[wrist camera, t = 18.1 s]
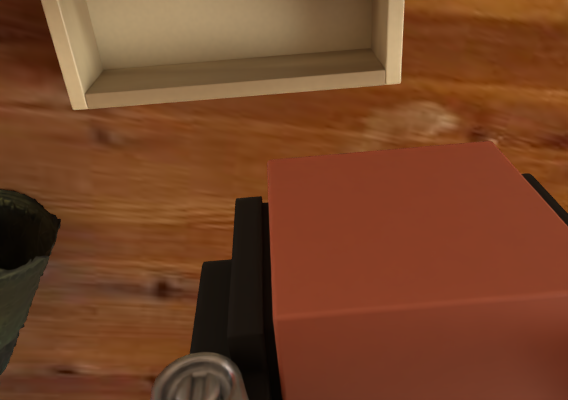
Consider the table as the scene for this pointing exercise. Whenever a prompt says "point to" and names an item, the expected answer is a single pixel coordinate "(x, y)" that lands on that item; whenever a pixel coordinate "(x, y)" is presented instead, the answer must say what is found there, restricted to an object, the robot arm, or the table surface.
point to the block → (416, 277)
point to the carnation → (21, 262)
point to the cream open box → (221, 48)
